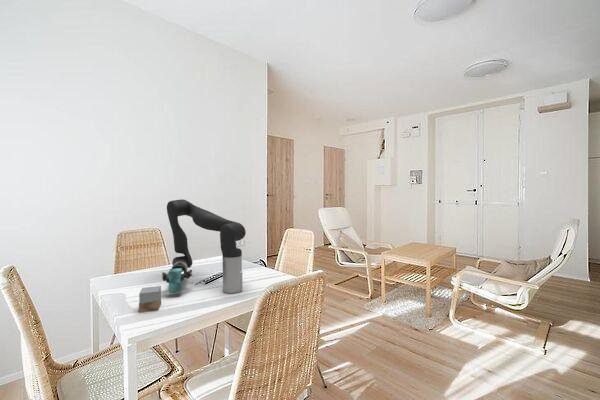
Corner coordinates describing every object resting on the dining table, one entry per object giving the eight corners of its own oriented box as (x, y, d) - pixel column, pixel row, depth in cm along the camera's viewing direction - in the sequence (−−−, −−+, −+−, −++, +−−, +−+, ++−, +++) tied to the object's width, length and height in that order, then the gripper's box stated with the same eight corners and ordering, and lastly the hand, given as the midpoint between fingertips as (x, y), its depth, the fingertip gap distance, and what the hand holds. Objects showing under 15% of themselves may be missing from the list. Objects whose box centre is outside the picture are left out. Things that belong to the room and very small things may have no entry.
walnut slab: (161, 304, 120) (161, 295, 120) (158, 310, 113) (158, 301, 113) (143, 306, 118) (142, 297, 118) (138, 313, 111) (138, 303, 111)
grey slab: (160, 294, 120) (160, 285, 120) (158, 300, 113) (158, 291, 113) (142, 297, 117) (142, 287, 117) (139, 303, 111) (139, 293, 111)
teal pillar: (182, 288, 132) (181, 268, 132) (180, 292, 128) (180, 270, 127) (170, 289, 131) (170, 269, 131) (169, 293, 126) (168, 271, 126)
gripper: (163, 264, 140) (157, 273, 124) (193, 261, 145) (191, 270, 129) (164, 278, 141) (157, 289, 124) (194, 275, 145) (191, 286, 129)
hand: (174, 279), depth 127 cm, fingers closed on teal pillar, 5 cm apart
